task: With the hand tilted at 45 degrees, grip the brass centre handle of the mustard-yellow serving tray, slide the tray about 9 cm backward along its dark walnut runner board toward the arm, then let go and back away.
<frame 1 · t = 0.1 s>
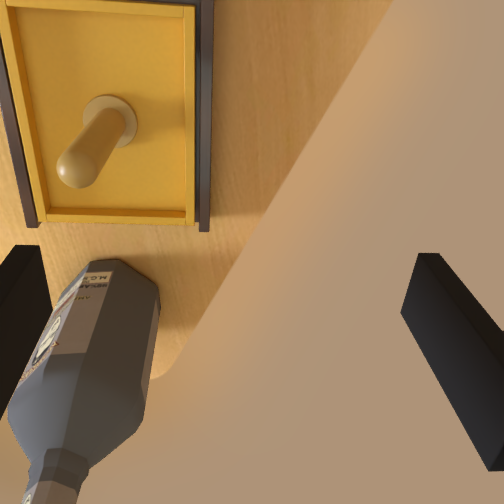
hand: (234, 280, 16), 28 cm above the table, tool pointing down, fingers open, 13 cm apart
tray: (96, 142, 33), point 8 cm above the table, slide at 0.0 cm
liquor: (114, 293, 50), on the table
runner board: (111, 52, 37), on the table
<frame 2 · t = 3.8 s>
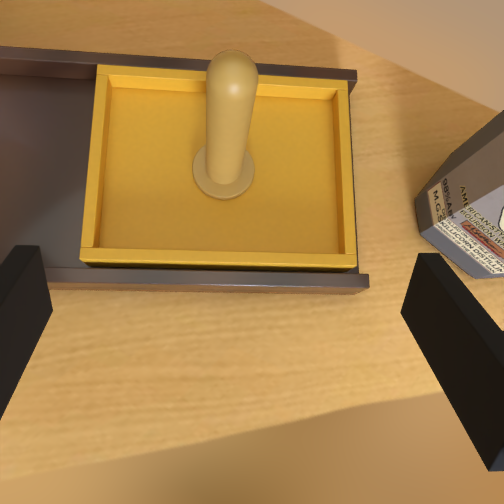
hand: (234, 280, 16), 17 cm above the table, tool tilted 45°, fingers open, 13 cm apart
tray: (227, 132, 27), point 8 cm above the table, slide at 0.0 cm
liquor: (471, 217, 36), on the table
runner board: (155, 180, 34), on the table
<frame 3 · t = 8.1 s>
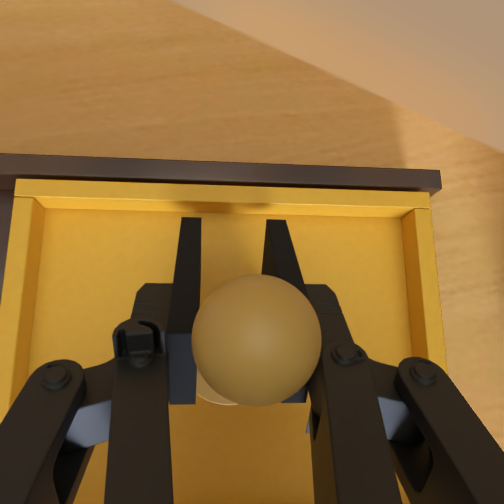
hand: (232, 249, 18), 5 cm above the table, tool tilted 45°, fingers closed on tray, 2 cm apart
tray: (237, 346, 14), point 8 cm above the table, slide at 0.0 cm, touching gripper
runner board: (119, 351, 21), on the table
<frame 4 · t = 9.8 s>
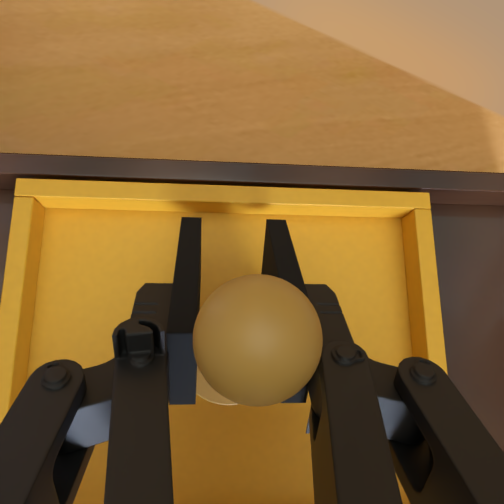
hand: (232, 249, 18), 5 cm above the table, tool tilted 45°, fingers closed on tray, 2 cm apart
tray: (238, 346, 14), point 8 cm above the table, slide at 5.5 cm, touching gripper
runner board: (236, 351, 22), on the table
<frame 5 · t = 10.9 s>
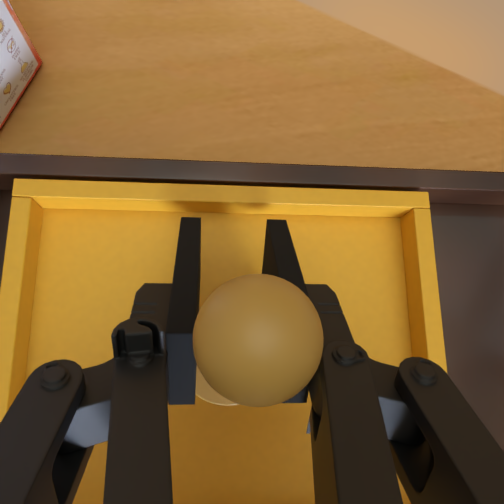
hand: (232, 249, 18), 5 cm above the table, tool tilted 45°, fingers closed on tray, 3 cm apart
tray: (237, 346, 14), point 8 cm above the table, slide at 8.8 cm, touching gripper
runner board: (303, 351, 22), on the table
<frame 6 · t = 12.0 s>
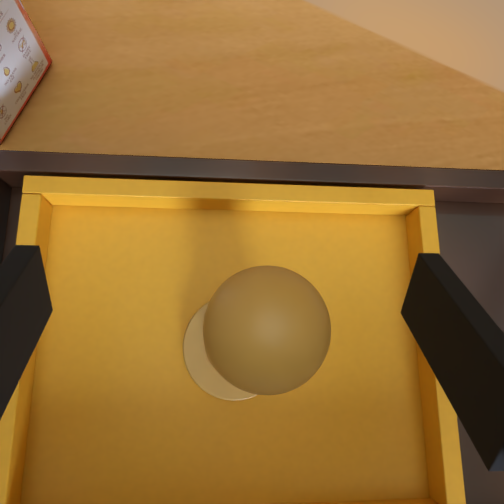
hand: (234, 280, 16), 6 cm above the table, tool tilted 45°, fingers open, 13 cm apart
tray: (245, 340, 14), point 8 cm above the table, slide at 8.9 cm
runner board: (310, 348, 22), on the table
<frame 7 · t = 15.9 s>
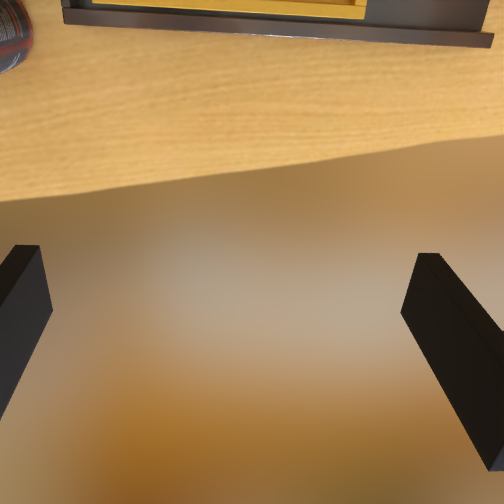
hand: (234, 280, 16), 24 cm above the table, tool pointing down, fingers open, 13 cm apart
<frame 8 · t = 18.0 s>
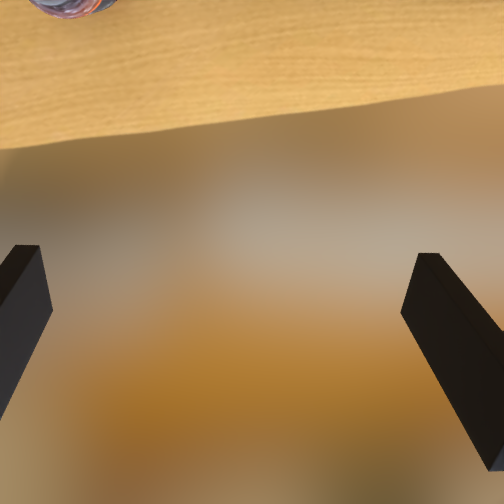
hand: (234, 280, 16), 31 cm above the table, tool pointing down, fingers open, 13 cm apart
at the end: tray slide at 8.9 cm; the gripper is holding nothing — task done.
